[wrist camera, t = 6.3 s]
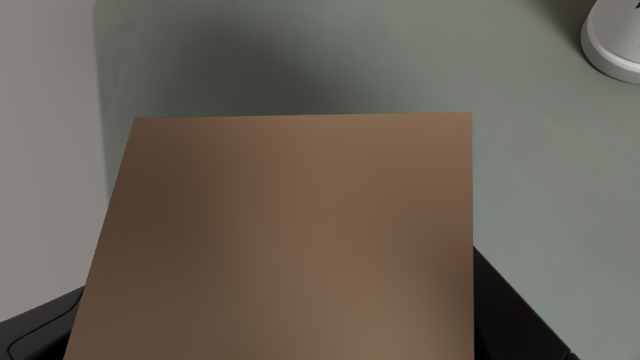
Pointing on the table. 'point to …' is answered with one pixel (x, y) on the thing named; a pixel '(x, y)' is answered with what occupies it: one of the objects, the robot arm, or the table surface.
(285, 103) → the table surface
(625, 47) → the travel mug
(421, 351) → the walnut block
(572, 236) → the table surface
